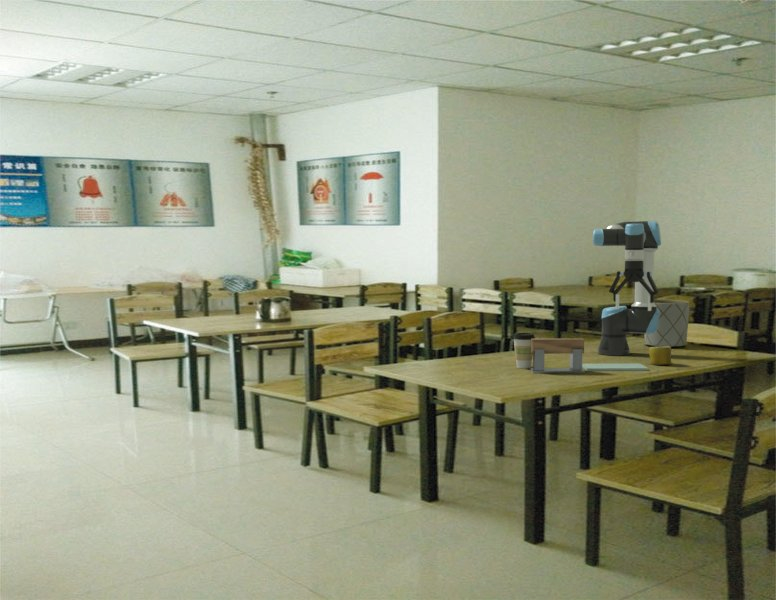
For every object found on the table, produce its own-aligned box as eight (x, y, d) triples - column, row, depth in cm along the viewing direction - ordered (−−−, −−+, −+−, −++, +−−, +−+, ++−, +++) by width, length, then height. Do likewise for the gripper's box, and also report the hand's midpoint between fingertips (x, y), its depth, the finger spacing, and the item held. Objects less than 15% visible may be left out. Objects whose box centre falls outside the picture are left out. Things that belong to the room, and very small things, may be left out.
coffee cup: (523, 370, 330) (523, 336, 328) (508, 366, 338) (508, 333, 337) (539, 367, 335) (539, 334, 334) (524, 364, 343) (524, 332, 342)
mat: (581, 365, 338) (581, 363, 338) (640, 365, 337) (640, 363, 337) (587, 370, 326) (587, 368, 326) (648, 370, 325) (648, 368, 325)
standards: (530, 369, 330) (530, 347, 330) (581, 369, 329) (581, 346, 329) (532, 373, 322) (533, 349, 322) (584, 372, 321) (585, 349, 321)
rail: (531, 352, 328) (531, 338, 327) (582, 352, 327) (582, 338, 326) (532, 353, 324) (532, 339, 323) (584, 353, 323) (584, 339, 322)
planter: (665, 350, 380) (666, 304, 378) (633, 344, 401) (633, 300, 399) (698, 347, 390) (699, 301, 388) (665, 341, 410) (666, 298, 408)
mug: (677, 362, 333) (669, 341, 335) (654, 369, 335) (646, 347, 337) (674, 363, 345) (667, 342, 346) (651, 369, 347) (644, 349, 349)
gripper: (602, 260, 323) (601, 309, 325) (662, 260, 310) (661, 312, 311) (607, 259, 330) (606, 307, 331) (666, 260, 316) (665, 310, 318)
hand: (633, 310), depth 321 cm, fingers open, 13 cm apart
